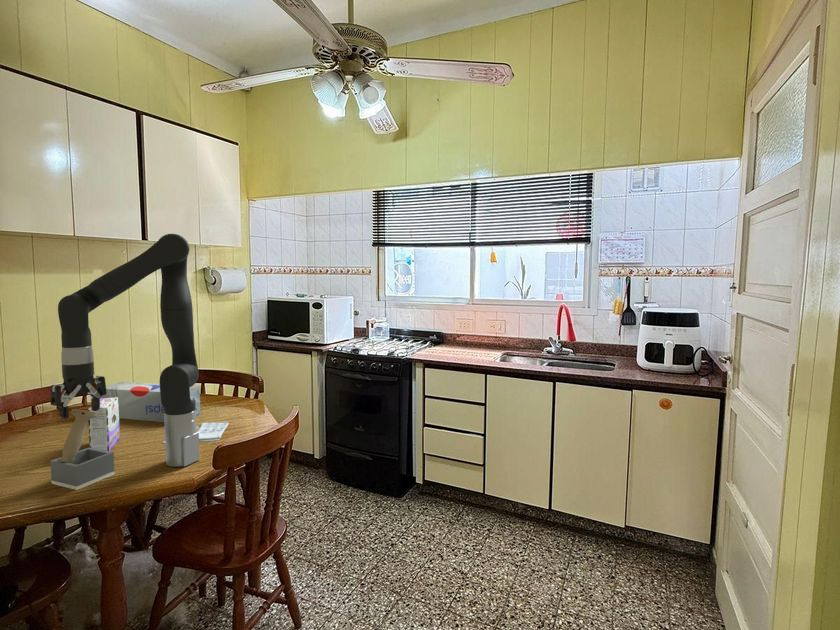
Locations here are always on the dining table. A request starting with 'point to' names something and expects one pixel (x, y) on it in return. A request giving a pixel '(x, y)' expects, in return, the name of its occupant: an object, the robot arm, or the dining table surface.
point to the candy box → (105, 425)
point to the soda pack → (143, 400)
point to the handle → (76, 434)
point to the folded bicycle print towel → (210, 431)
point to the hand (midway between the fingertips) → (80, 414)
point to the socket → (83, 468)
